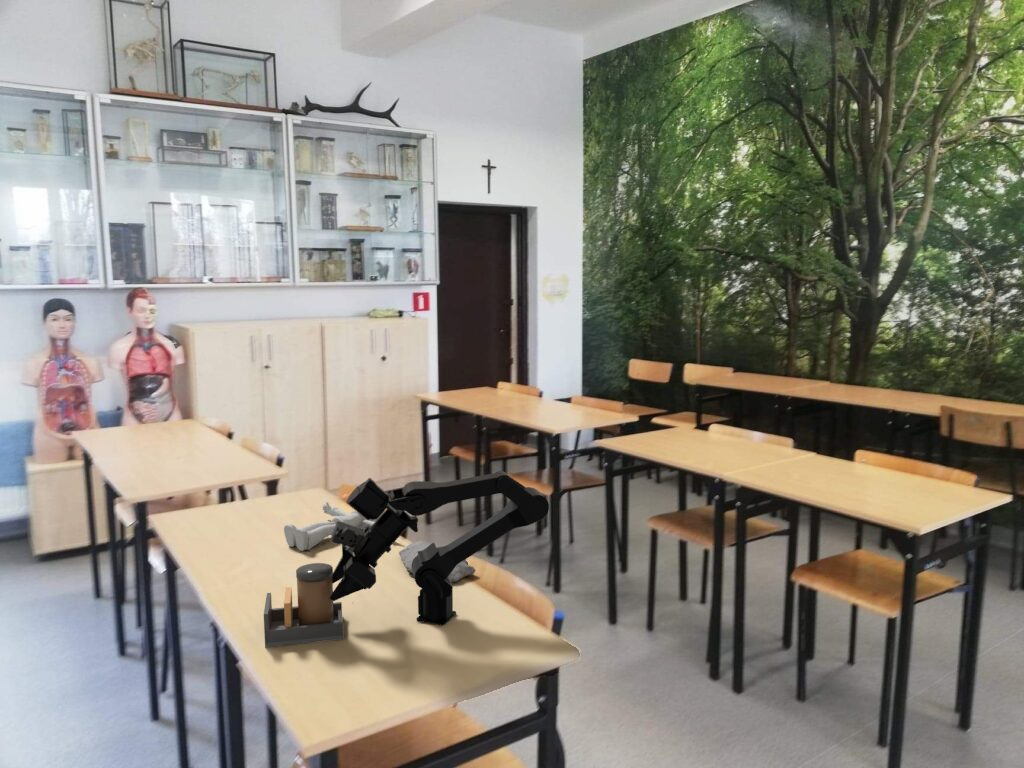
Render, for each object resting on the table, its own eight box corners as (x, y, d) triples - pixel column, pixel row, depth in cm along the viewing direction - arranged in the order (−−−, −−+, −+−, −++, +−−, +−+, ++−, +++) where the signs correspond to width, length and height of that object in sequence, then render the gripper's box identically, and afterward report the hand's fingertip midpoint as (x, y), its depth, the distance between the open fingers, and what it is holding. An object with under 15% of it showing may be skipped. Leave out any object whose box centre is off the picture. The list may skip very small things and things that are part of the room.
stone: (488, 577, 191) (432, 549, 210) (488, 556, 190) (432, 529, 209) (433, 591, 181) (379, 560, 200) (433, 569, 180) (380, 539, 200)
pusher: (292, 619, 163) (291, 587, 162) (291, 636, 156) (290, 603, 155) (286, 619, 163) (285, 587, 162) (285, 637, 155) (283, 603, 154)
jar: (336, 618, 164) (335, 562, 163) (331, 633, 157) (329, 575, 156) (301, 619, 164) (299, 563, 162) (295, 635, 157) (292, 576, 155)
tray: (341, 616, 167) (341, 586, 166) (343, 639, 157) (342, 606, 156) (268, 624, 164) (267, 593, 163) (265, 647, 153) (263, 614, 152)
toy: (258, 513, 218) (346, 485, 240) (261, 541, 219) (348, 511, 241) (330, 540, 196) (420, 506, 218) (333, 571, 198) (422, 535, 220)
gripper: (351, 496, 168) (301, 551, 167) (356, 523, 150) (299, 584, 149) (390, 528, 171) (341, 582, 170) (398, 558, 153) (343, 618, 152)
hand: (331, 590), depth 160 cm, fingers open, 9 cm apart
